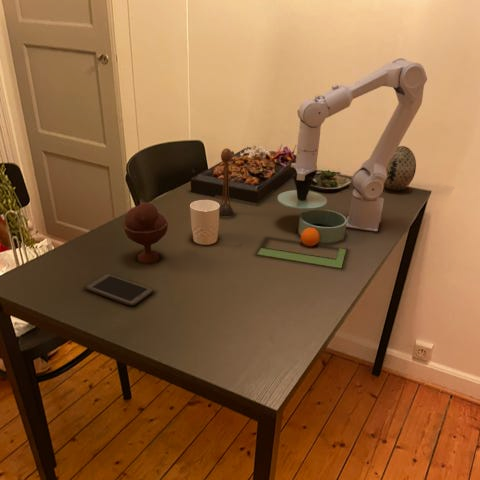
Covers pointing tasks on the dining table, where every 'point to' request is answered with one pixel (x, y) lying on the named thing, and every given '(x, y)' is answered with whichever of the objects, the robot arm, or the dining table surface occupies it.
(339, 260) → the green flat l-shaped piece
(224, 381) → the dining table surface
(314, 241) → the orange
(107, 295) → the cell phone
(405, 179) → the decorative egg
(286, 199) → the lid
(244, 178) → the food platter
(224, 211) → the wooden tabletop sculpture
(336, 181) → the salad plate
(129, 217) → the ice cream bowl
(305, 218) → the pot
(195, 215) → the white cup
